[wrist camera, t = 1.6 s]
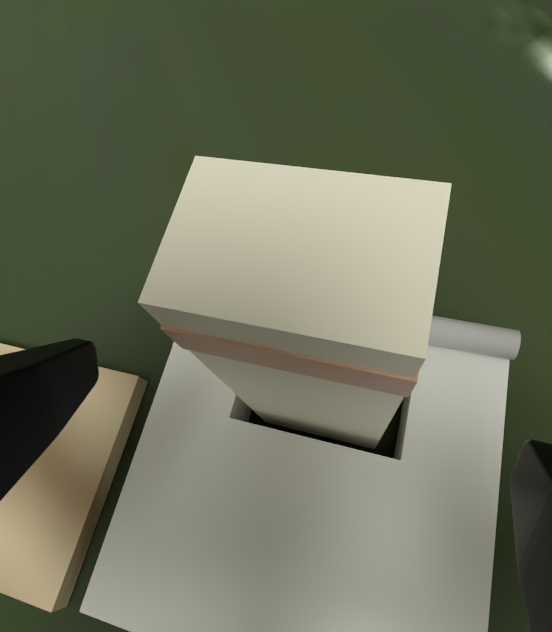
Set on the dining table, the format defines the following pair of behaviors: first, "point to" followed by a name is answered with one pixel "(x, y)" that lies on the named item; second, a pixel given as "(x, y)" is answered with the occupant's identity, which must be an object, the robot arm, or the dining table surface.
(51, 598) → the pad
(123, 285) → the dining table surface
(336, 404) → the rectangular peg
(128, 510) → the white slotted base
